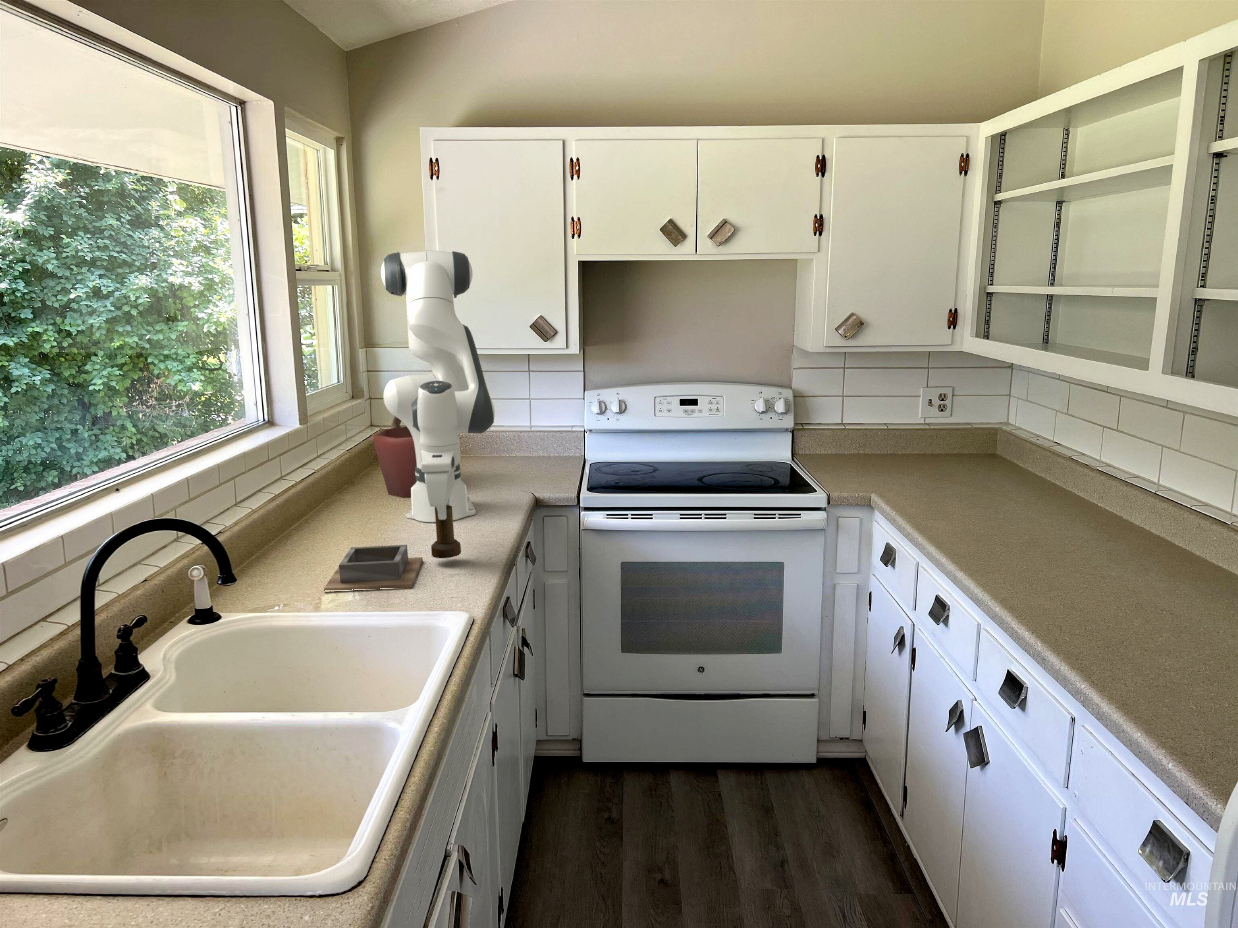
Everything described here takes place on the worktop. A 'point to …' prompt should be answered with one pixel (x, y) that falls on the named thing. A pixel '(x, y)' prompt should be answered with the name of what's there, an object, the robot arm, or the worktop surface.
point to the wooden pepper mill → (445, 537)
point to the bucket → (396, 458)
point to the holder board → (375, 569)
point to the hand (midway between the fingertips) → (444, 515)
